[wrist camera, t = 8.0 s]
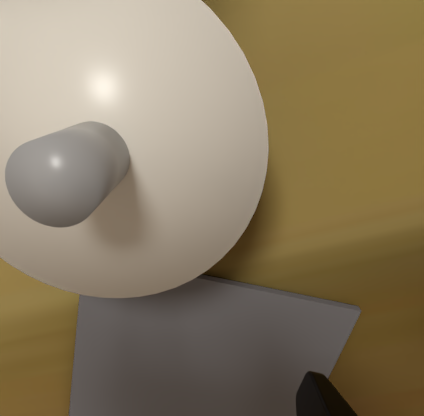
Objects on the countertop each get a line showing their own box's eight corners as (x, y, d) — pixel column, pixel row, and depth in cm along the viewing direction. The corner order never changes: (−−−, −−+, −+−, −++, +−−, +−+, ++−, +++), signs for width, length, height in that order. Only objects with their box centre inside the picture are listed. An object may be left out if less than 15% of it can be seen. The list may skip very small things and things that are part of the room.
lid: (309, 8, 11) (360, -28, 7) (224, 307, 16) (225, 388, 12) (-80, -90, 11) (-271, -194, 6) (-48, 255, 15) (-147, 322, 11)
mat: (358, 306, 22) (361, 311, 21) (277, 471, 29) (278, 477, 28) (86, 250, 21) (83, 254, 20) (69, 435, 28) (66, 442, 27)
